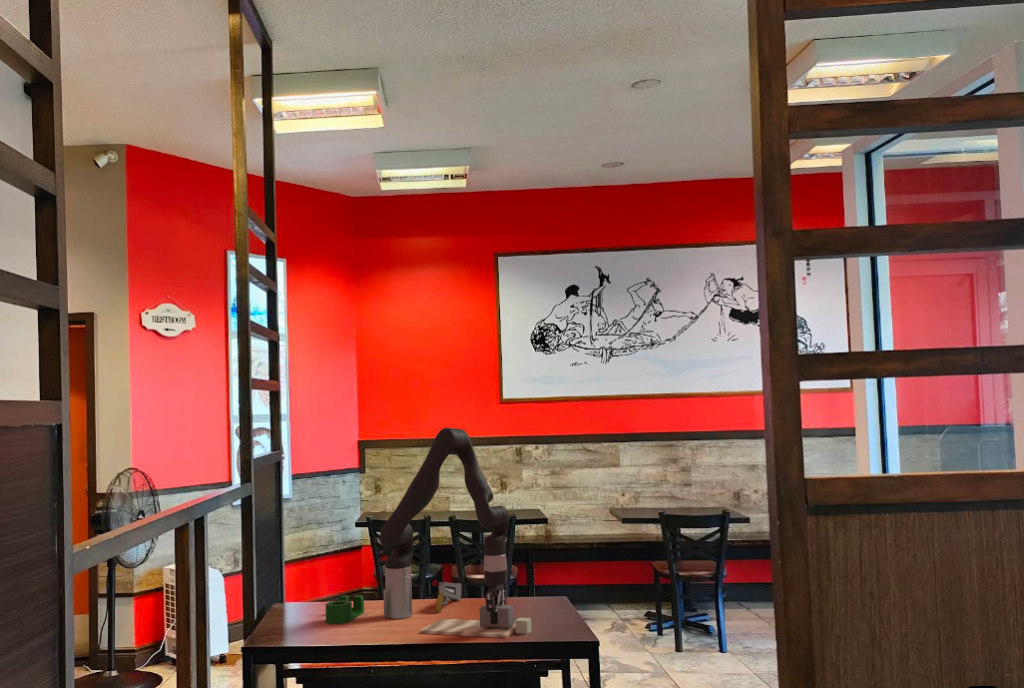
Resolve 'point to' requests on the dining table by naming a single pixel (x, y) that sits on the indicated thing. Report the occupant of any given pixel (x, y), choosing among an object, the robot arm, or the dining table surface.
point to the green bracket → (344, 609)
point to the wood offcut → (523, 625)
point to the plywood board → (466, 628)
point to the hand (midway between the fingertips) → (497, 621)
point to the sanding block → (498, 616)
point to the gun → (447, 594)
